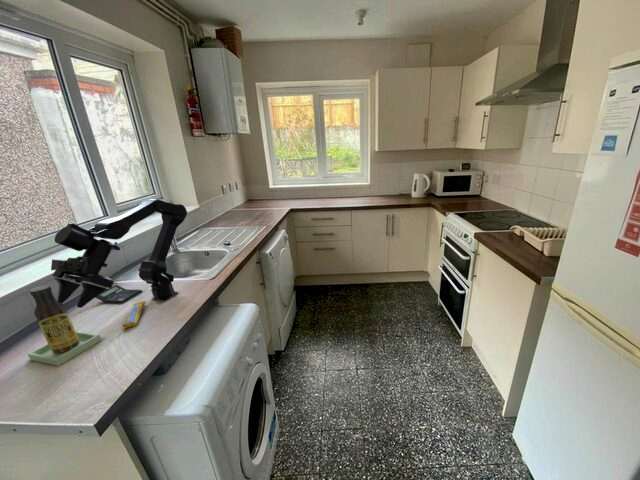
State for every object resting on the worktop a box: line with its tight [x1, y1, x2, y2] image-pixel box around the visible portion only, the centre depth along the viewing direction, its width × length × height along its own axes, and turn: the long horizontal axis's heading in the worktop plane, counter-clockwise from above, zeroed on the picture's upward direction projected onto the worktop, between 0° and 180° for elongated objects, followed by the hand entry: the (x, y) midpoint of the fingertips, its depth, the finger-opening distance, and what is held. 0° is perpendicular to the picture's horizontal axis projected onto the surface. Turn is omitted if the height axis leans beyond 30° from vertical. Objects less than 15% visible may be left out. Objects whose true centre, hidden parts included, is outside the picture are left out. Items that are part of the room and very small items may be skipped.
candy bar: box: [121, 300, 147, 329], centre depth 101 cm, size 17×4×2 cm, turn 24°
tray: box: [27, 330, 102, 367], centre depth 85 cm, size 12×12×2 cm
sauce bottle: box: [29, 284, 79, 354], centre depth 82 cm, size 6×6×20 cm
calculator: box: [94, 284, 143, 304], centre depth 115 cm, size 9×12×3 cm
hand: (69, 305), depth 85 cm, fingers open, 9 cm apart
